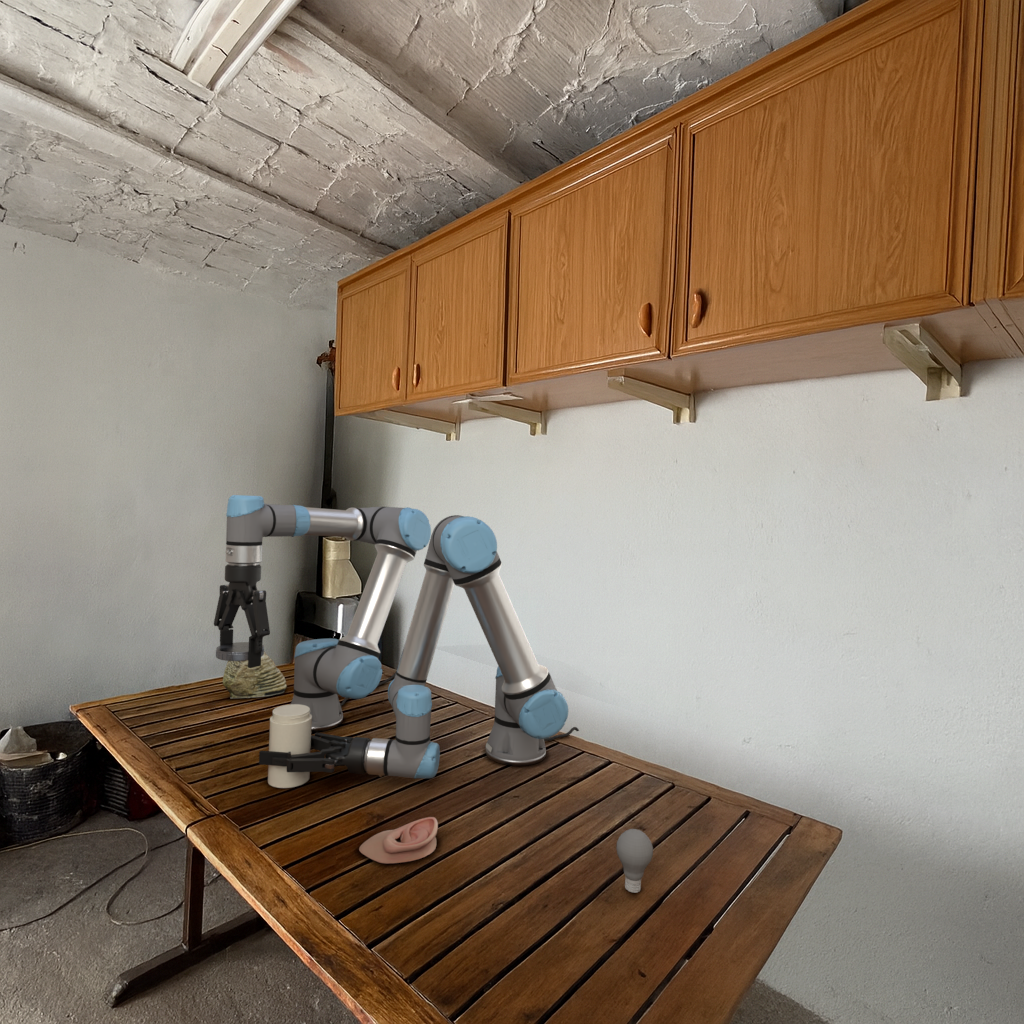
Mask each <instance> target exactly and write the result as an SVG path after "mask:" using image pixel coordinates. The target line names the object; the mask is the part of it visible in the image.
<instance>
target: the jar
mask: <svg viewBox="0 0 1024 1024" xmlns="http://www.w3.org/2000/svg"><path fill="white" fill-rule="evenodd" d="M311 731H312V715H311V714H310V708H309V707H308V706H305V705H300V704H291V703H290V704H283V705H280V706H277V707H275V708H274V709H272V715H271V716H270V717H269V731H268V732H269V735H268V751H274V752H287V753H288V752H291V755H295V754H304V753H312V750H311V735H312V732H311ZM310 777H311V772H287V766H274V765H267V783H268V785H269V786H270V787H273V788H277V789H290V788H295V787H299V786H302V785H304V784H306V783H307V782H308V781H309V780H310Z"/></svg>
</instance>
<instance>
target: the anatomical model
mask: <svg viewBox="0 0 1024 1024" xmlns="http://www.w3.org/2000/svg"><path fill="white" fill-rule="evenodd" d="M438 830H439V822H438V819H437V818H436V817H434V816H428V817H423V818H419V819H417V820H414V821H410V822H409V823H407V824H404V825H401V826H398V827H397V828H395V829H388V830H383V831H381V832H378V833H376V834H374V835H372V836H371V837H369V838H368V839H366V840H365V841H364V842H363V843H362V844H361V845H360V846H359V848H358V850H359V852H360V853H361V854H362V855H364V857H366V858H368V859H369V860H372V861H374V862H377V863H380V864H399V863H400V864H401V863H409V862H413V861H417V860H420V859H422V858H426V857H427V856H429V855H431V854H432V853H433V852H435V850H436V847H437V837H436V836H437V834H438Z"/></svg>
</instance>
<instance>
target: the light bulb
mask: <svg viewBox="0 0 1024 1024" xmlns="http://www.w3.org/2000/svg"><path fill="white" fill-rule="evenodd" d="M615 849H616V854H617V857H618V859H619V861H620V863H621V865H622V867H623V873H624V874H623V875H624V876H625V878H624V888H625V890H627V891H628V892H630V893H634V894H635V893H639V892H640V891H641V889H642V887H641V886H642V879H643V877H644V875H645V871H646V868H647V867H648V866H649V864H650V863H651V861H652V859H653V855H654V847H653V843H652V841H651V838H649V836H648V835H647V834H646V833H645V832H643V831H642V830H641V829H636V828H629V829H627V830H625V831H623V832H622V833H621V834H620V835H619V837H618V839H617V841H616V847H615Z"/></svg>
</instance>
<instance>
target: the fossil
mask: <svg viewBox="0 0 1024 1024" xmlns="http://www.w3.org/2000/svg"><path fill="white" fill-rule="evenodd" d="M226 662H227V663H226V666H225V668H224V671H223V675H222V676H223V677H222V685H223V687H224V688H225V690H226V691H228V693H229V698H230V699H250V698H264V697H271V696H275V695H281V694H284V693H285V691H286V689H287V687H288V686H287V680H286V678H285V676H284V674H283V673H282V672H281V669H279V668H278V667H277V665H276V663H275V662H274V660H273V659H272V658H271V657H270V656H269V655H268V654H267V653H266V652H265V651H264V655H263V656H262V657H261V666H257V667H253V668H248V660H245V661H226Z"/></svg>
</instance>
